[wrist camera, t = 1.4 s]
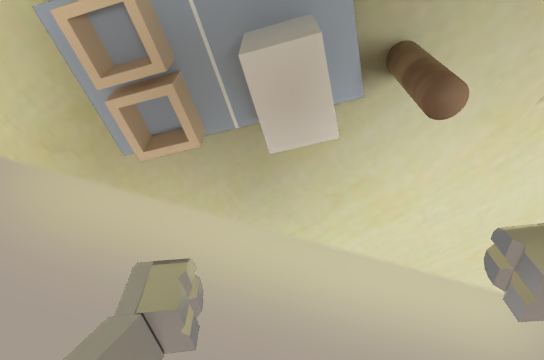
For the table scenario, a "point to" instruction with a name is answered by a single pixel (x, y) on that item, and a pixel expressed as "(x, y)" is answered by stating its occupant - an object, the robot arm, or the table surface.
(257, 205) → the table surface
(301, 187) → the table surface
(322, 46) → the cover
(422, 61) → the pin
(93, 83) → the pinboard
